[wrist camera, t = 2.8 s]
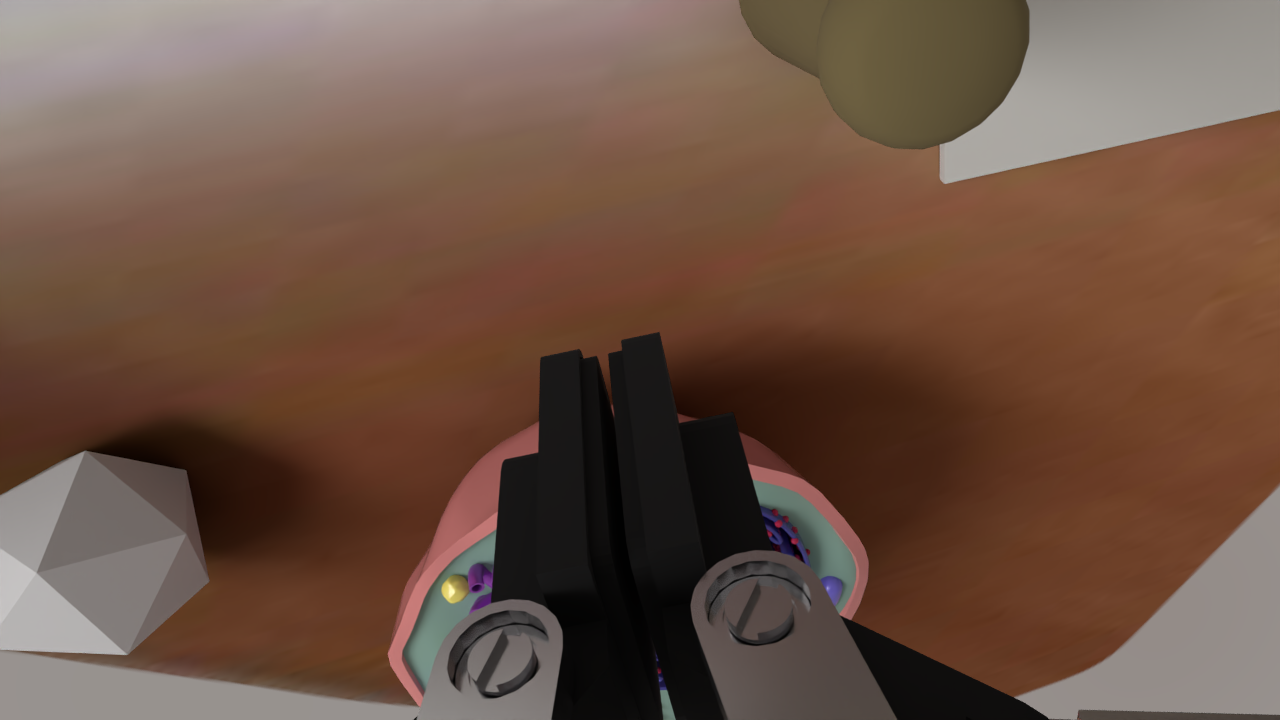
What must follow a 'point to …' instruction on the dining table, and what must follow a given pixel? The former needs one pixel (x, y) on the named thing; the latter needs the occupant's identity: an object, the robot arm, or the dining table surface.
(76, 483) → the die
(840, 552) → the cell model
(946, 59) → the cork
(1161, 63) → the mat
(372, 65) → the dining table surface
